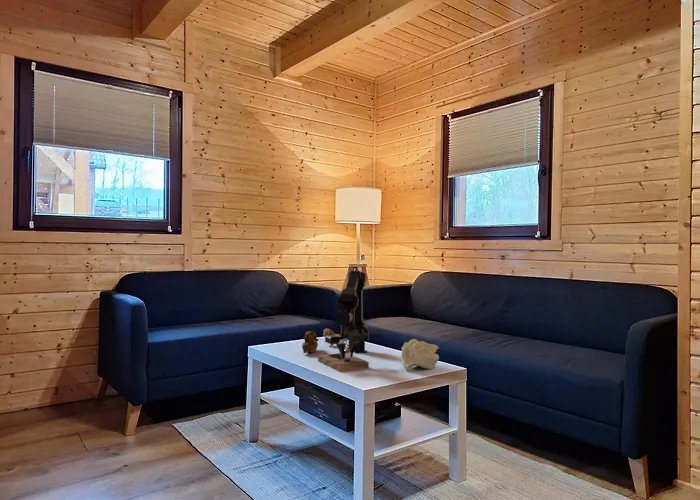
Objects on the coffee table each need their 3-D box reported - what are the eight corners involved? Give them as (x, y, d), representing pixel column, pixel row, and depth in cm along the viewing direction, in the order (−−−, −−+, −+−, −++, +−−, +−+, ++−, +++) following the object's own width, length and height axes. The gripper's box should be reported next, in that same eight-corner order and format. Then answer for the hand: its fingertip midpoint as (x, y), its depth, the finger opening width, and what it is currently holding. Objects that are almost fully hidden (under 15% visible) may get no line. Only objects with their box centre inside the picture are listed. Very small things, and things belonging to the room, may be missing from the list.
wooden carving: (310, 356, 225) (311, 334, 225) (301, 355, 226) (301, 334, 226) (319, 349, 241) (320, 329, 241) (311, 348, 242) (311, 328, 242)
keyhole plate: (317, 361, 215) (318, 355, 215) (345, 358, 222) (345, 352, 222) (339, 371, 198) (339, 365, 198) (368, 368, 205) (368, 362, 205)
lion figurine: (321, 346, 247) (321, 329, 247) (324, 344, 252) (325, 327, 252) (348, 349, 243) (349, 331, 242) (351, 347, 248) (352, 329, 248)
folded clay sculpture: (419, 381, 211) (425, 346, 218) (440, 380, 201) (445, 344, 207) (387, 368, 204) (394, 333, 210) (407, 366, 193) (414, 329, 200)
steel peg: (338, 365, 208) (339, 349, 208) (348, 364, 210) (349, 348, 210) (344, 368, 203) (344, 351, 203) (354, 366, 206) (355, 350, 206)
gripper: (337, 326, 195) (336, 364, 195) (376, 323, 204) (375, 360, 205) (324, 322, 205) (324, 358, 205) (362, 319, 214) (361, 354, 214)
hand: (346, 358), depth 207 cm, fingers closed on steel peg, 3 cm apart
